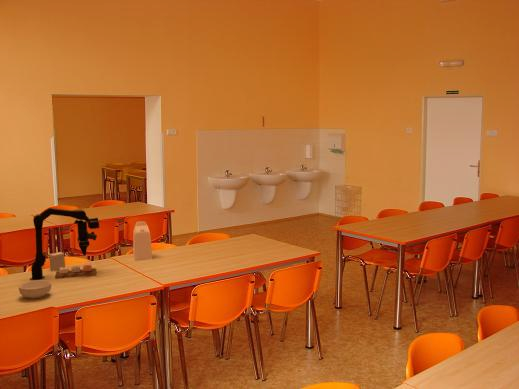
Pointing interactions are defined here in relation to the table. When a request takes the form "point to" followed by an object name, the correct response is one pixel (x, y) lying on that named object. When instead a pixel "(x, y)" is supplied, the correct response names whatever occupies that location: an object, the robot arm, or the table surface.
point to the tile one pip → (63, 270)
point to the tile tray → (75, 274)
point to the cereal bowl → (35, 288)
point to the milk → (141, 242)
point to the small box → (56, 261)
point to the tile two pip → (75, 269)
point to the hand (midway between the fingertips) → (84, 253)
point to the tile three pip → (87, 268)
